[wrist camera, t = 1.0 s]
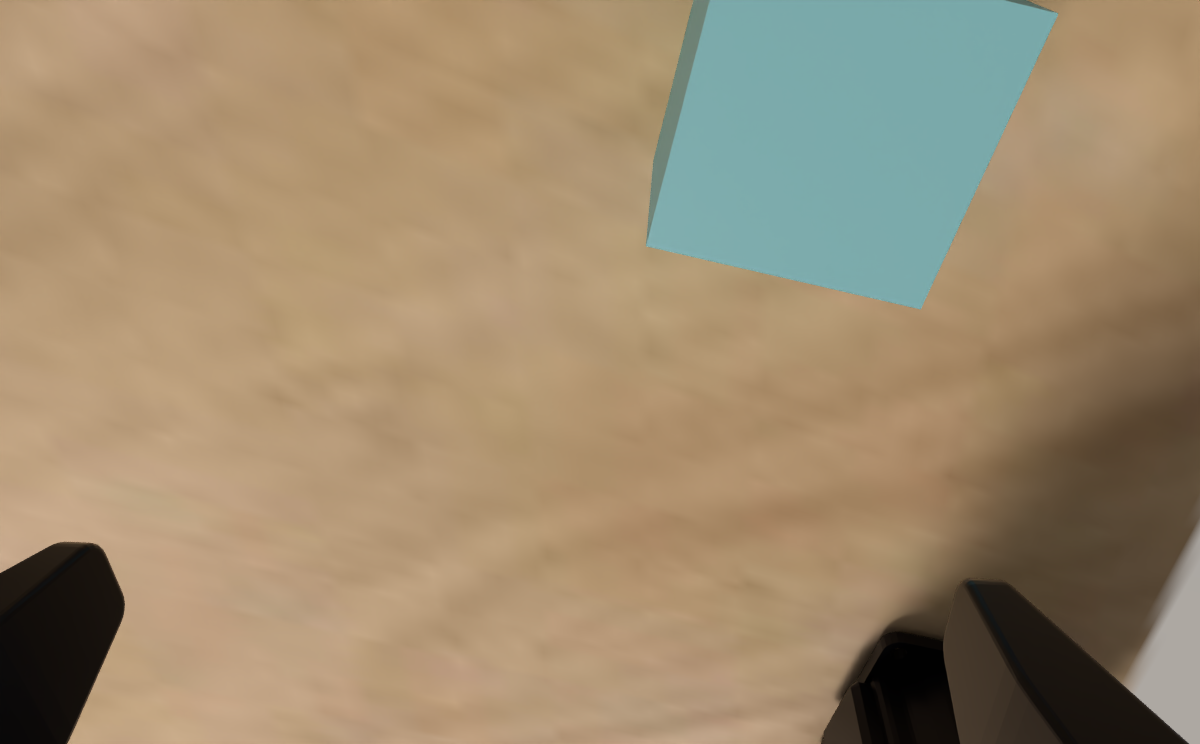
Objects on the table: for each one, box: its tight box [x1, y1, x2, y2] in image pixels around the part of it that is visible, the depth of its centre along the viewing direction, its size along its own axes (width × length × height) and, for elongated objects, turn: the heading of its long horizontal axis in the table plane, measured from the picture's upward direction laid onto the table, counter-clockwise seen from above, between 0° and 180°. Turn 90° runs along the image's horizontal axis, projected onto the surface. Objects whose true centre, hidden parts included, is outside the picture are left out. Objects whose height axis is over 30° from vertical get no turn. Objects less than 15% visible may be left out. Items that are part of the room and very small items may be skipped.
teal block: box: [646, 0, 1058, 309], centre depth 16 cm, size 5×5×5 cm
